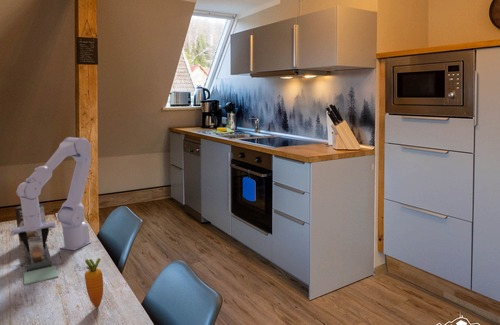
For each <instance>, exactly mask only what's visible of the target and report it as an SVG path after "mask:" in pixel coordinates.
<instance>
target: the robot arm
mask: <svg viewBox="0 0 500 325" xmlns="http://www.w3.org/2000/svg"><path fill="white" fill-rule="evenodd" d="M91 150H92V144H91V142H90V141H89V140H88V139H87V138H86V137H72V136H68V137H66V138H64V139H63V141H62V142H60V143H59V146H58V148H57V149H55V151H54V153H52V155H51V156H50V158H49V159H48V160H47V161H46V163H45V164H44V165H40V166H38V167H35V168H34V169H33V170H34V171H33V172H32V174H30V175H29V176H28V177H27V178H26V179H25V181H24V182H21V183H19V185H18V186H17V188H16V191H15V194H16V195H17V196H18V198H20V206H22V213H23V221H24V226H22V227H19V228H17V227H15V228H10V235H11V236H15V235H18V234H19V236H18V238H19V237H20V239H21V240H22V241H23V243H24V244H25V245H24V246H25V247H26V248H27V251H28V252H30V250H29V244H28V239H27V232H32V231H38V230H41V233H42V242H43V249H45V244H46V243H47V241H46V239H48V235H49V234H50V230H49V229H56V228H57V227H56V222H55V221H50V222H46V223H42V222H41V215H40V207H39V204H40V200H39V196H41V193H42V188H43V187H44V186H45V184H46V183H47V182H48V181H49V180H50V179H51V178H52V177H53V171H54V170H55V169H56V168H57V167H58V166H60V164H61V163H62V162H63V161H64V160H65V159H66V158H67V157H72V158H73V160H74V161H75V166H74V171H73V173H72V178H71V182H70V186H69V190H68V194H67V199H66V200H65V201H64V202H63V203H62V204H61V207H60V209H59V210H58V211H57V220H58V221H59V222H60V223H61V228H62V236H63V245H61V246H59V249H61V250H69V251H76V250H79V249H81V248H83V247H84V246H86V245H89V244H90V243H92V240H91V239H90V231H89V227H88V226H89V225H88V224H87V223H86V222H85V218H86V217H85V206H84V205H83V202H82V200H83V198H84V194H85V193H84V192H85V188H86V184H87V181H88V177H89V172H90V168H91V165H92V164H91V163H92V155H91Z"/></svg>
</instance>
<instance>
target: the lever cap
mask: <svg viewBox="0 0 500 325" xmlns="http://www.w3.org/2000/svg"><path fill="white" fill-rule="evenodd" d="M28 243H29V250H30V257H33V256H32V252H33V251H35V250H42V254H43V255H44V249H43V242H42V237H40V236H35V237H30V238H29V240H28Z"/></svg>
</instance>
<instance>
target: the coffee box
mask: <svg viewBox="0 0 500 325" xmlns="http://www.w3.org/2000/svg"><path fill="white" fill-rule="evenodd" d="M39 207H40V215H41V222H42V223H47V222H46V215H45V206H44V204H43V203H42V204H40V203H39ZM14 212H15V219H16V228H19V227H22V226H24V221H23V213H22V206H21V205H19V206H17V207H15V208H14ZM35 236H40V237H42V233H41V230H38V231H32V232H27V239H28V240H29V238H30V237H35ZM17 237H18V243H19V246H25V244H24V243H23V241H22V240H21V239H20V237H19V234H17ZM48 239H49V238H47V239H46V242H47V241H48ZM28 244H29V243H28Z"/></svg>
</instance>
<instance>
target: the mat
mask: <svg viewBox="0 0 500 325" xmlns="http://www.w3.org/2000/svg"><path fill="white" fill-rule="evenodd" d="M22 274H23V283H24V284H23V285H24V286H26V285H30V284H35V283H38V282H43V281H48V280H52V279H55V278H59V275H58V270H57V267H56V265H52V267H47V268H43V269H38V270H34V271H29V272H27V271H25V272H23V273H22Z"/></svg>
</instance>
